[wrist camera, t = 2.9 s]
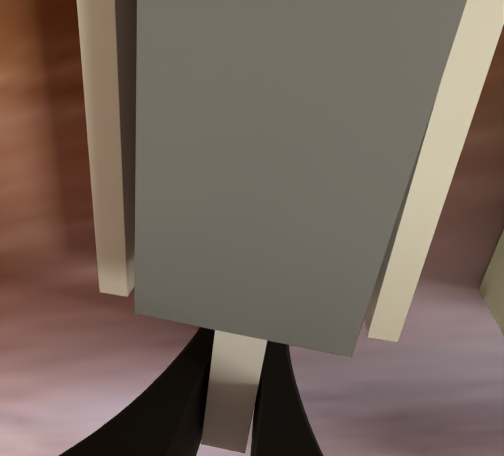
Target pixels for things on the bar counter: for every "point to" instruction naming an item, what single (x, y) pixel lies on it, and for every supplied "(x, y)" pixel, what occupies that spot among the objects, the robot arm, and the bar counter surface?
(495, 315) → the tray
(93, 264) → the bar counter surface
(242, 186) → the block on a stick
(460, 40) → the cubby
